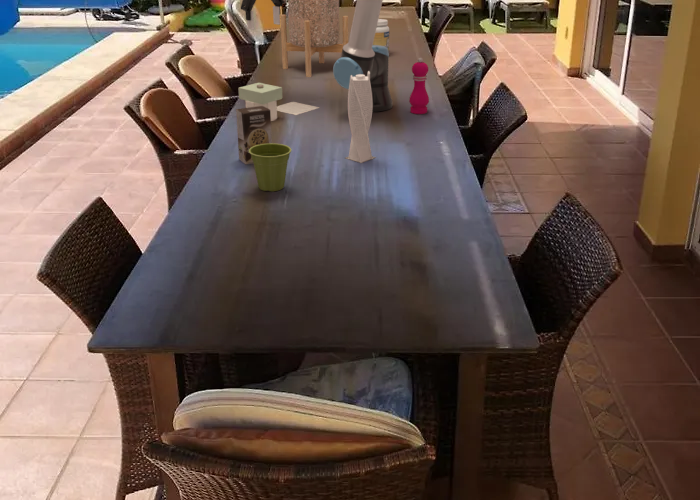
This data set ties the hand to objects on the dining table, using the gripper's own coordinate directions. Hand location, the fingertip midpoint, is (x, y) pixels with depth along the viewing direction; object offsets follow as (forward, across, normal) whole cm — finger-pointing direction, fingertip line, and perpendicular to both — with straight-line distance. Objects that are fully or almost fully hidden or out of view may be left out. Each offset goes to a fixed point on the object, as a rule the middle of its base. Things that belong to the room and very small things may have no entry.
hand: (264, 26), depth 295 cm
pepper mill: (+29, -25, +54) cm, 66 cm away
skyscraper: (+29, +30, +71) cm, 82 cm away
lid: (+21, +18, +15) cm, 31 cm away
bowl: (+29, +18, +15) cm, 37 cm away
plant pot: (+29, +65, +67) cm, 98 cm away
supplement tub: (+29, -94, -20) cm, 100 cm away
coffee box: (+29, +51, +46) cm, 74 cm away
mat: (+29, +1, +15) cm, 32 cm away
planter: (+29, -54, -24) cm, 66 cm away
